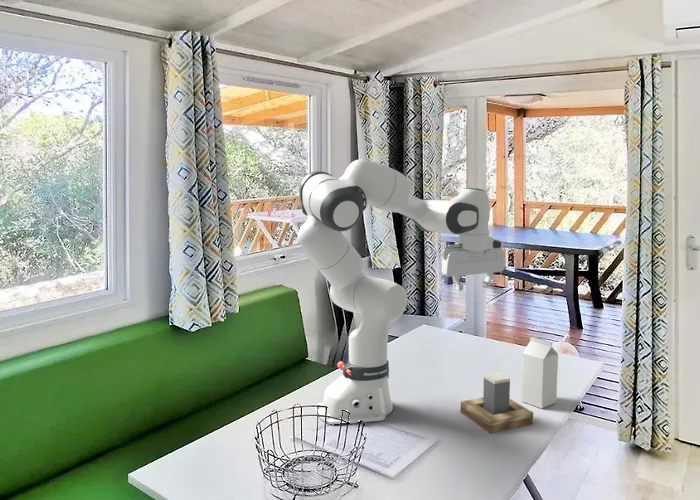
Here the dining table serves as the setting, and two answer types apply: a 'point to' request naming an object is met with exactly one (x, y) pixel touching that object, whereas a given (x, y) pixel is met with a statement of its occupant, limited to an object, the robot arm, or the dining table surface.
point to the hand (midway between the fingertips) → (472, 288)
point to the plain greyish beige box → (496, 393)
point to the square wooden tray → (499, 421)
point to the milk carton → (539, 373)
